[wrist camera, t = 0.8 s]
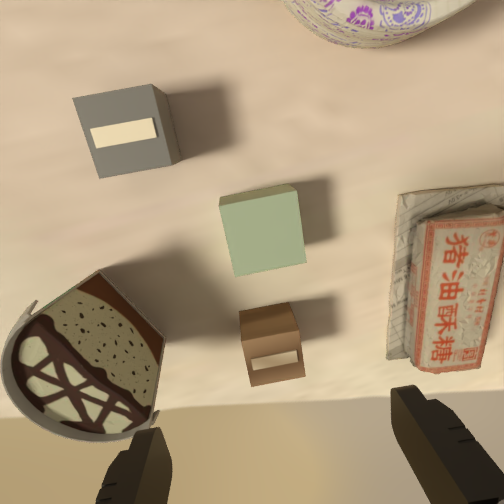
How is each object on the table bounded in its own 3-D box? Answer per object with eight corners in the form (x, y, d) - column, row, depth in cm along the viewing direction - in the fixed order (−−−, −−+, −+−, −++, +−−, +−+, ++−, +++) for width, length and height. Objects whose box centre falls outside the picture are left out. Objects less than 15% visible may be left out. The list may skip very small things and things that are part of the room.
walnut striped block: (239, 310, 31) (241, 342, 26) (288, 301, 31) (299, 331, 26) (247, 351, 33) (251, 388, 28) (294, 342, 33) (306, 377, 28)
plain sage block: (220, 196, 27) (218, 206, 24) (287, 183, 27) (296, 190, 24) (234, 259, 29) (235, 277, 26) (296, 246, 30) (306, 262, 26)
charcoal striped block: (102, 106, 24) (71, 97, 19) (166, 94, 24) (150, 83, 19) (122, 171, 26) (98, 178, 21) (182, 160, 26) (171, 165, 21)
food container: (37, 293, 29) (-54, 368, 20) (87, 256, 28) (16, 316, 19) (129, 377, 33) (90, 473, 24) (175, 347, 32) (154, 434, 23)
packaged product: (504, 374, 31) (405, 386, 30) (469, 343, 35) (382, 353, 35) (549, 189, 24) (424, 202, 24) (499, 181, 29) (393, 192, 29)
